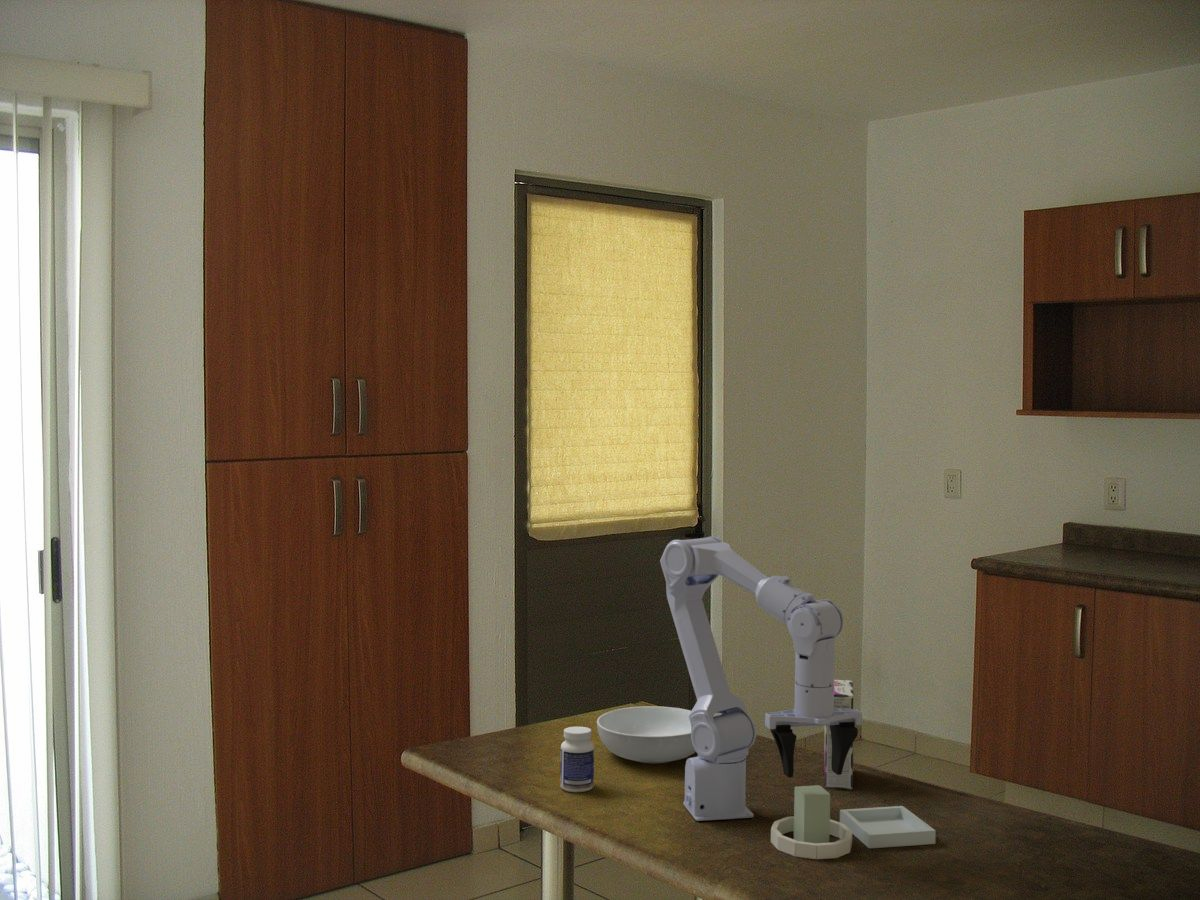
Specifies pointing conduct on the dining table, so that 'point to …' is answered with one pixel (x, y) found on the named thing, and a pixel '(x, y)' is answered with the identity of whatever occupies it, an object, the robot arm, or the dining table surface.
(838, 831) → the collar
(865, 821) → the tray
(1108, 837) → the dining table surface
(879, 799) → the dining table surface
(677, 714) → the serving bowl
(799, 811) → the peg
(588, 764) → the pill bottle
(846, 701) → the candy bar box
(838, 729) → the robot arm
